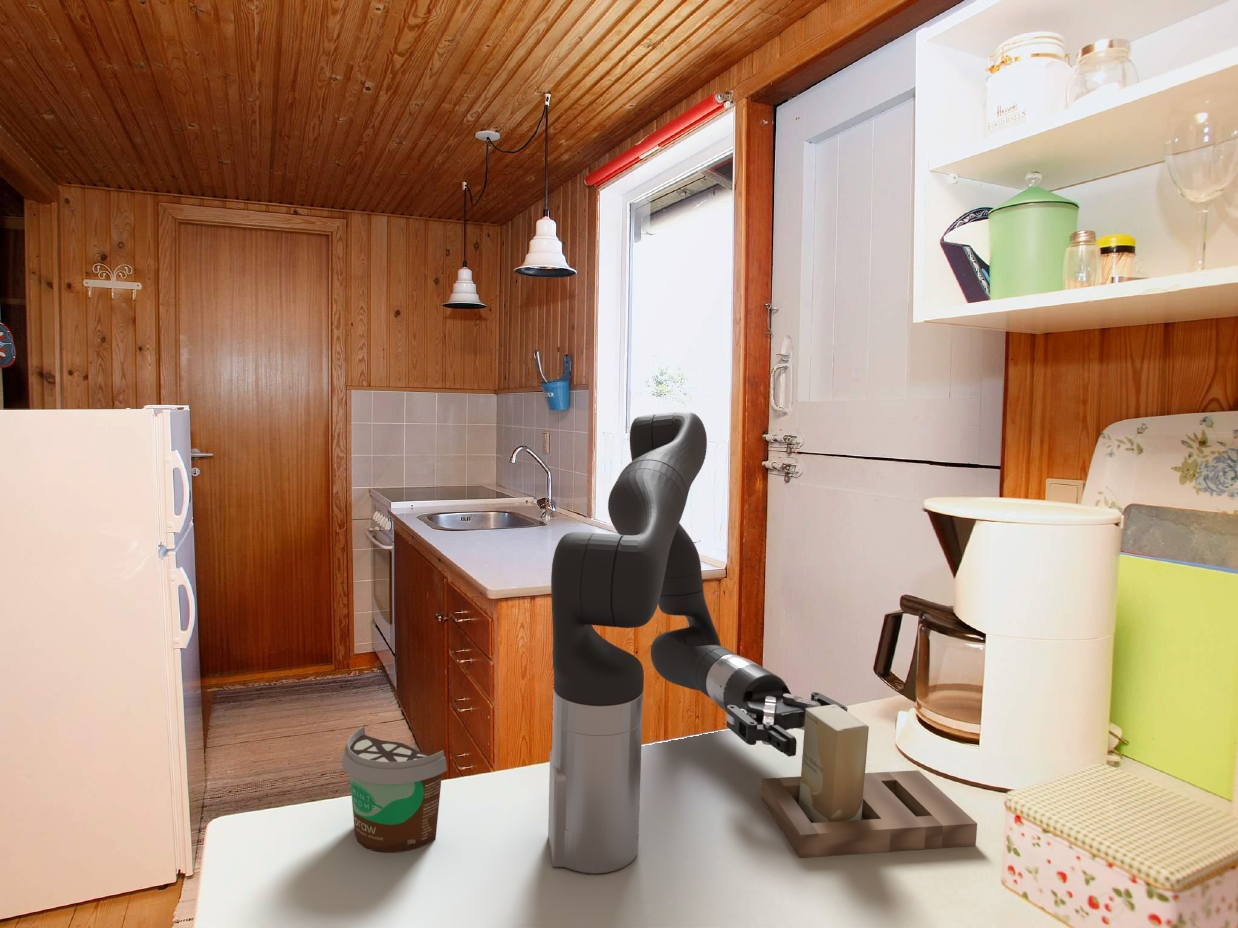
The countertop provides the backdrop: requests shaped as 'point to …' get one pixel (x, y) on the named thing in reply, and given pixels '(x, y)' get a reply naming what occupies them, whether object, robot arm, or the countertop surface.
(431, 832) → the food container
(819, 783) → the skincare box
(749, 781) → the countertop surface
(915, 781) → the socket plate
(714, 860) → the countertop surface
